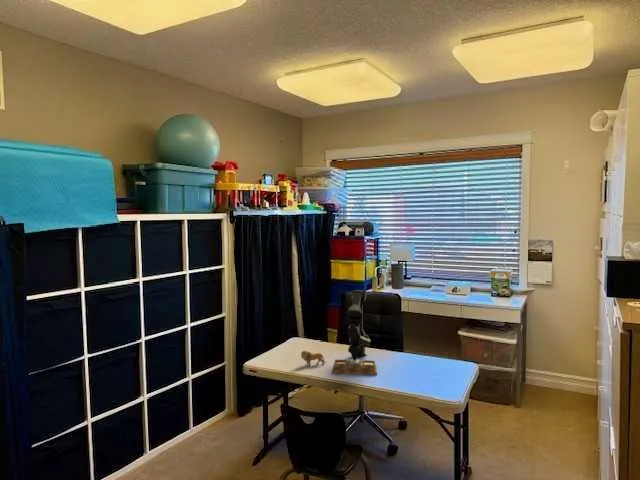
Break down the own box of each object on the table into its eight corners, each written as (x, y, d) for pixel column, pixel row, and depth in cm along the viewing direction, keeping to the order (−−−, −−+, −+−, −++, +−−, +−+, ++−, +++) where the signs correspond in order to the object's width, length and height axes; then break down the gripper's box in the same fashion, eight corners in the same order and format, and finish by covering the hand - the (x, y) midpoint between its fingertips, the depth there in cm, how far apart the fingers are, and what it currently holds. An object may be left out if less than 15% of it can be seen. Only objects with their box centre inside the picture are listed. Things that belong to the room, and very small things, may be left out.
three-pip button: (336, 368, 240) (336, 364, 240) (336, 365, 245) (336, 361, 245) (345, 368, 240) (345, 364, 240) (345, 365, 245) (345, 361, 245)
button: (350, 366, 239) (350, 362, 239) (350, 362, 244) (350, 359, 244) (359, 366, 239) (359, 362, 239) (359, 363, 244) (359, 359, 244)
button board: (332, 373, 238) (332, 364, 238) (333, 367, 248) (333, 358, 248) (377, 374, 236) (377, 366, 235) (376, 368, 246) (376, 359, 245)
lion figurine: (302, 368, 247) (302, 352, 246) (299, 365, 252) (299, 349, 251) (327, 364, 252) (327, 349, 251) (324, 361, 257) (323, 346, 256)
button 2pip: (363, 369, 239) (363, 365, 239) (364, 366, 244) (364, 362, 244) (373, 369, 238) (373, 365, 238) (373, 366, 243) (373, 362, 243)
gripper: (369, 337, 230) (369, 366, 231) (369, 328, 249) (369, 355, 250) (348, 337, 232) (348, 366, 233) (349, 327, 250) (349, 354, 251)
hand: (354, 360), depth 242 cm, fingers closed
